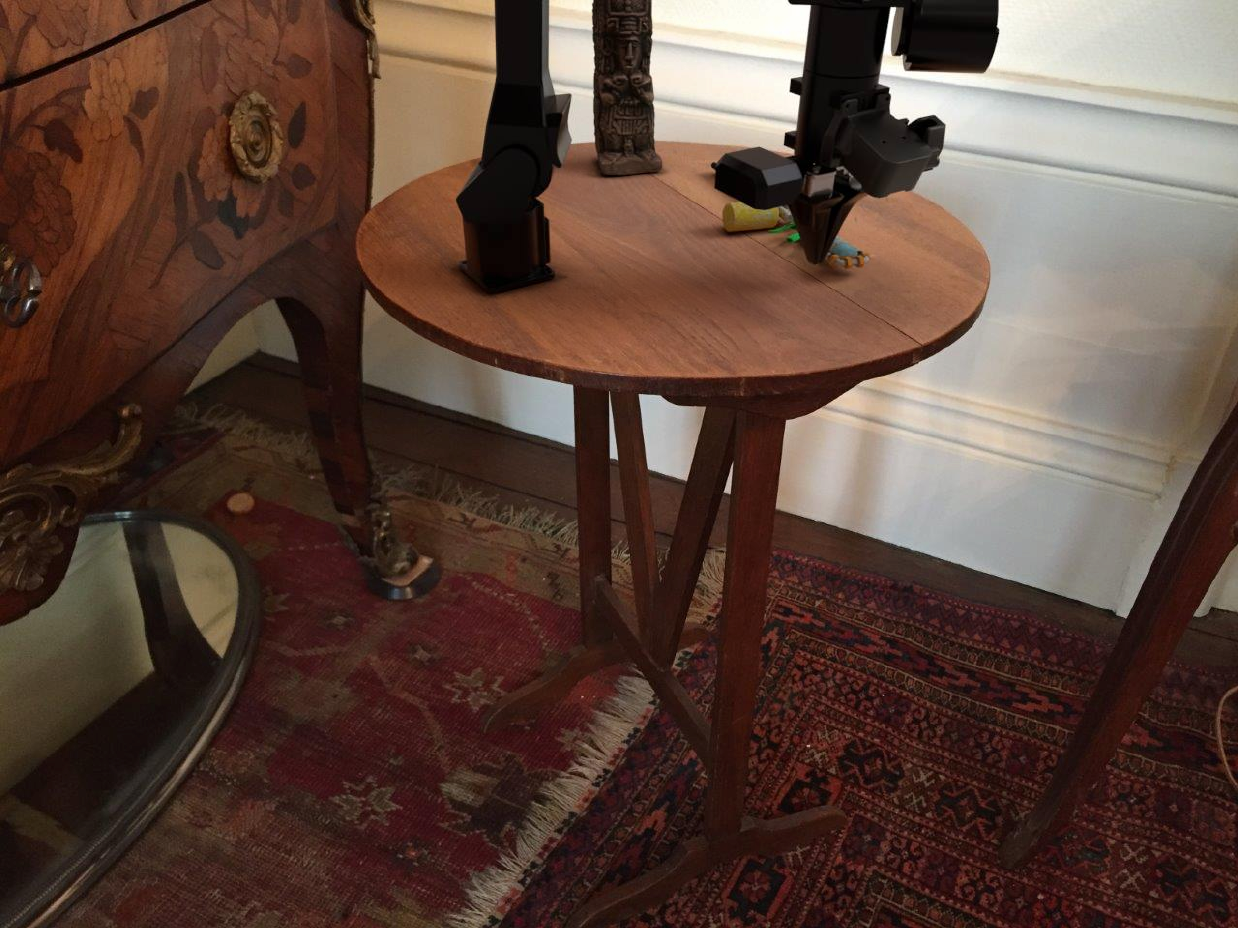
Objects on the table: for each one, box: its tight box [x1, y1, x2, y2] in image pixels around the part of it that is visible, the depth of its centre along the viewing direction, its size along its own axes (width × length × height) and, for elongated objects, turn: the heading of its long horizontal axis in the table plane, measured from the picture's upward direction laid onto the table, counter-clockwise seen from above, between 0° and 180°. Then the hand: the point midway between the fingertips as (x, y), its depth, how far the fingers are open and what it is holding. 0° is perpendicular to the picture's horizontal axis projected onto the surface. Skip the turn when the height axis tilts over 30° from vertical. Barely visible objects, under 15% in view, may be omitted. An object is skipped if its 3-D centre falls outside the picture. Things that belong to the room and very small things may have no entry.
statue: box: [591, 0, 663, 176], centre depth 102 cm, size 7×7×20 cm
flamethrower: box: [710, 161, 870, 270], centre depth 94 cm, size 29×3×10 cm
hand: (814, 262), depth 81 cm, fingers closed
